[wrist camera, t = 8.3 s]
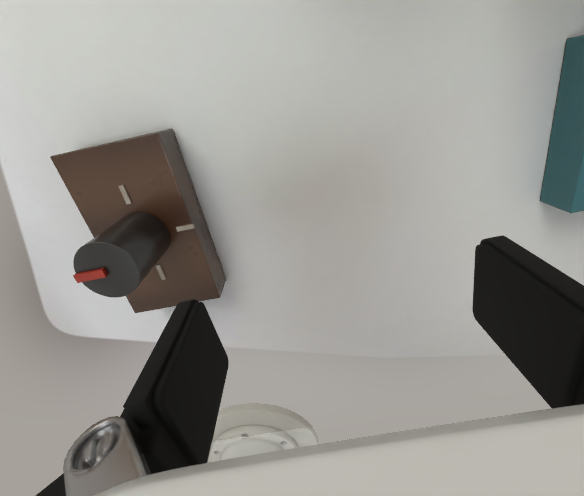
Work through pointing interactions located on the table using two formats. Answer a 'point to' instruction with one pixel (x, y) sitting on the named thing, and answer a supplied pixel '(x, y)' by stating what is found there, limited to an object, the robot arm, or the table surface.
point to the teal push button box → (567, 135)
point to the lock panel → (153, 200)
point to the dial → (122, 255)
